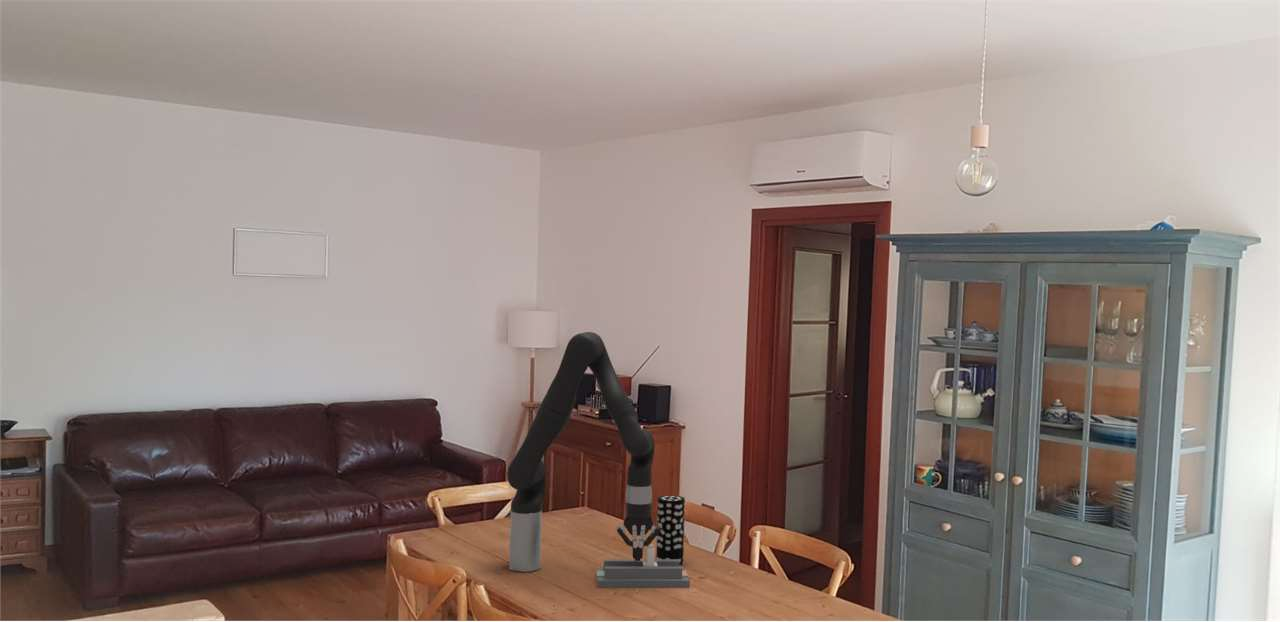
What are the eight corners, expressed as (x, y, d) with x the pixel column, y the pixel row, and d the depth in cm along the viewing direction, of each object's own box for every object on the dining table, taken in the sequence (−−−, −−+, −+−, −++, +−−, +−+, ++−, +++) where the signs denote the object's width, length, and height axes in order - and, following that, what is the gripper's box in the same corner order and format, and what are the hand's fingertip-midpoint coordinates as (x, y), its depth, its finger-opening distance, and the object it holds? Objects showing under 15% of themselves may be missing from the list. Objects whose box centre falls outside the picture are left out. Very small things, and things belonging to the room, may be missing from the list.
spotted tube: (680, 567, 287) (682, 502, 286) (653, 565, 288) (655, 500, 288) (685, 560, 295) (686, 496, 294) (658, 558, 296) (660, 494, 296)
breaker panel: (597, 587, 266) (597, 570, 266) (596, 574, 278) (596, 557, 278) (689, 587, 268) (689, 570, 268) (684, 574, 280) (684, 557, 280)
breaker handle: (643, 575, 271) (644, 548, 271) (642, 571, 275) (643, 544, 275) (657, 575, 271) (658, 548, 271) (656, 571, 275) (656, 544, 275)
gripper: (616, 503, 268) (615, 564, 268) (663, 503, 269) (661, 564, 269) (615, 497, 275) (613, 556, 276) (660, 497, 276) (659, 556, 277)
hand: (637, 560), depth 272 cm, fingers closed
